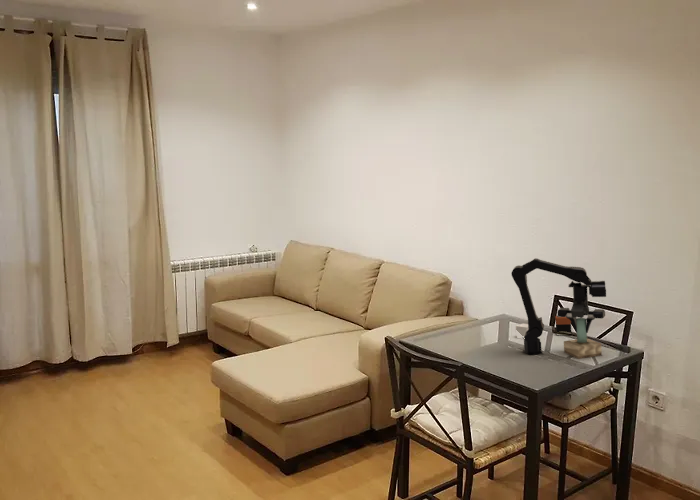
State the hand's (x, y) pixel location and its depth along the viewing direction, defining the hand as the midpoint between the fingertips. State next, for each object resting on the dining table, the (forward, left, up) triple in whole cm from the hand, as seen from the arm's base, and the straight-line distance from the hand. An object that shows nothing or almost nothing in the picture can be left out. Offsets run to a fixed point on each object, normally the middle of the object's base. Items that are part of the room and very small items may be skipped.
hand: (581, 332), depth 264 cm
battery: (+11, +31, -10) cm, 35 cm away
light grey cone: (-7, +36, -10) cm, 39 cm away
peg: (0, 0, -4) cm, 4 cm away
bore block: (0, 0, -10) cm, 10 cm away
